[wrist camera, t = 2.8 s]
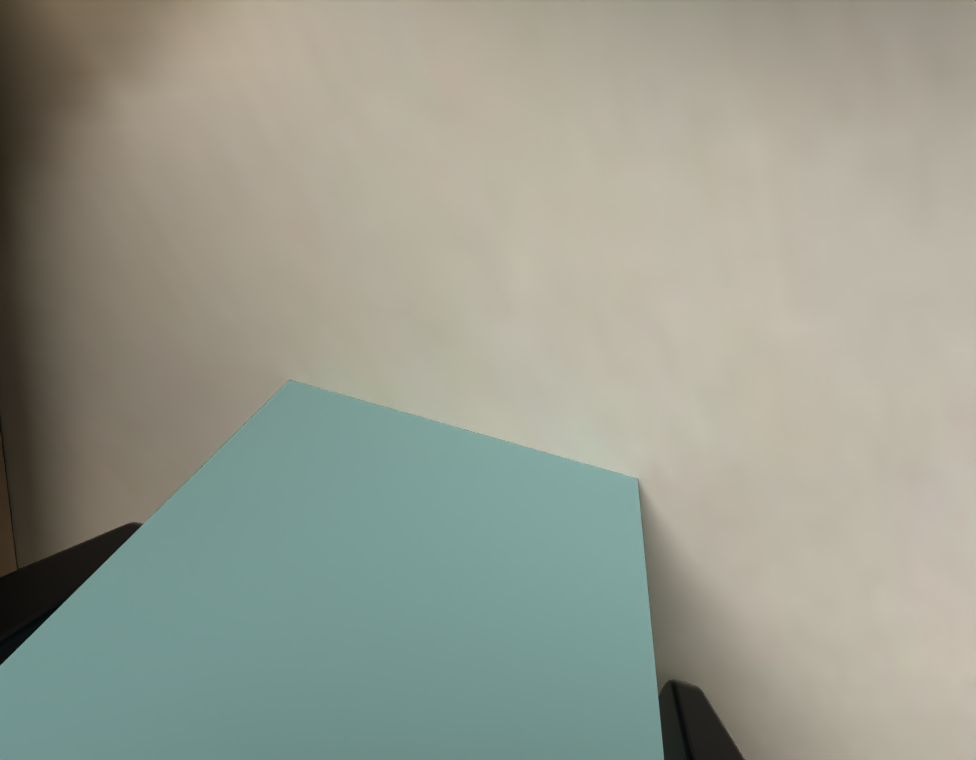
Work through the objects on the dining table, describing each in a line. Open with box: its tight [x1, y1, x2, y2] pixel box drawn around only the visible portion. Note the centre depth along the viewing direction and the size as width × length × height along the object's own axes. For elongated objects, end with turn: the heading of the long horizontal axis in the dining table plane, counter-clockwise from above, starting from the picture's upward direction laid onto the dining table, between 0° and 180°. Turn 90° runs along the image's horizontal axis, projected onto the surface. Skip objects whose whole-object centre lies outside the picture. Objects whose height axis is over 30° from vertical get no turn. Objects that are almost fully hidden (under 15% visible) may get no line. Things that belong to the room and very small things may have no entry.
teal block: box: [0, 380, 664, 760], centre depth 8 cm, size 5×5×6 cm
